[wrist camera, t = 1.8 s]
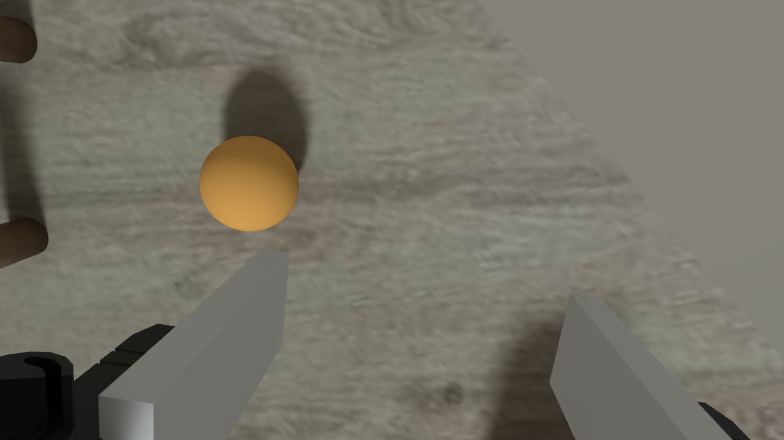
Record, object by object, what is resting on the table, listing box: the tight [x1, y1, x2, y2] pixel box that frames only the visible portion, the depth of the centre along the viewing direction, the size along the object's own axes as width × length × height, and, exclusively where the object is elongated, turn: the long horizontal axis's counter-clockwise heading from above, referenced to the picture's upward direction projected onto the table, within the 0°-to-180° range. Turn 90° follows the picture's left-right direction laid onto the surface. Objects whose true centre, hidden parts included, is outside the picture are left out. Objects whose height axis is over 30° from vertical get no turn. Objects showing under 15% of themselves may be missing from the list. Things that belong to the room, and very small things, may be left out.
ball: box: [199, 136, 299, 231], centre depth 27 cm, size 6×6×6 cm
